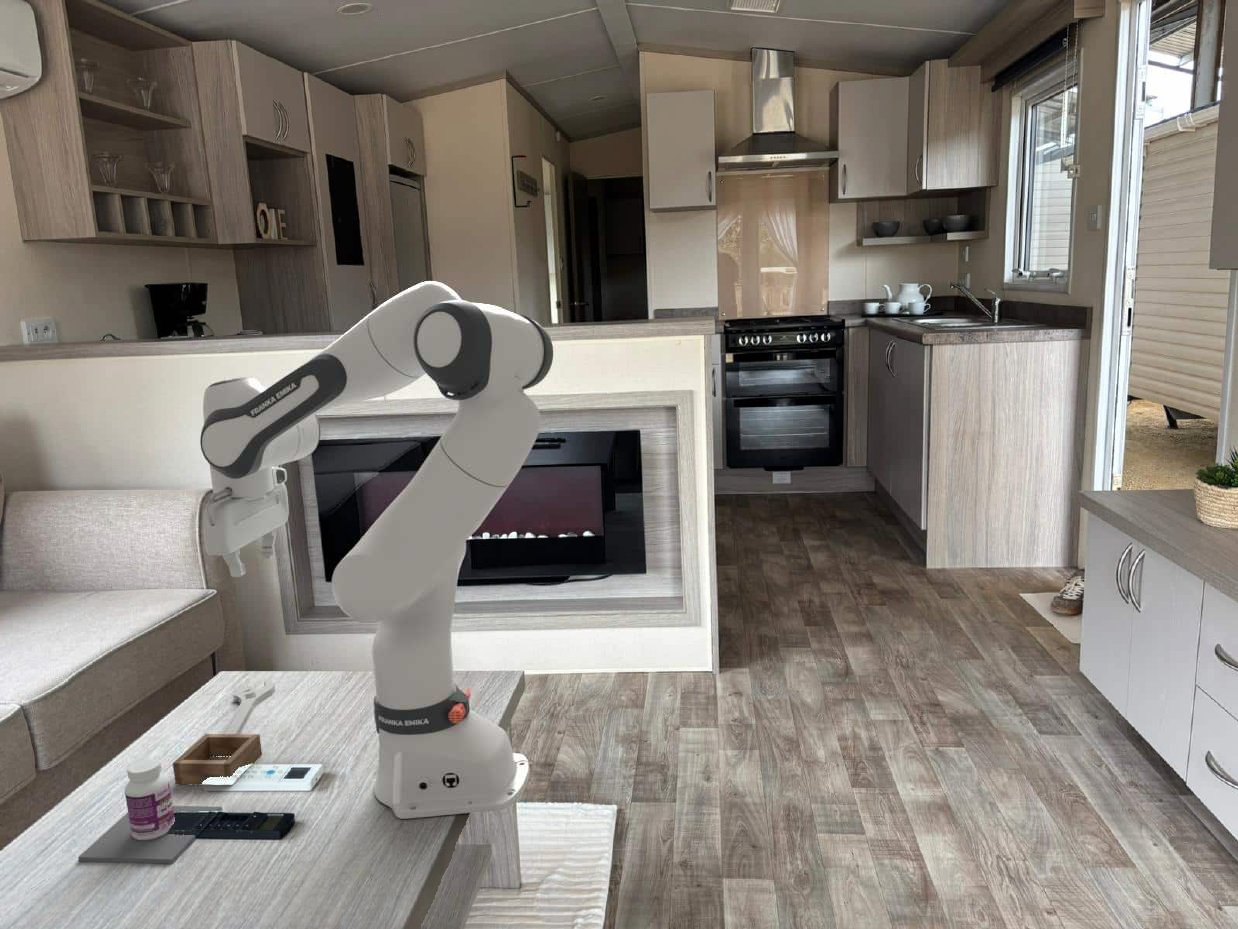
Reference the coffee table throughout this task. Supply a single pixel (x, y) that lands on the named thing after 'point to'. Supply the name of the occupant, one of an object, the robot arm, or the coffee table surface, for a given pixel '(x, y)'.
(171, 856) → the charcoal mat
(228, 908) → the coffee table surface
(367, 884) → the coffee table surface
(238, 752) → the walnut collar
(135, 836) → the pill bottle
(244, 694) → the adjustable wrench
